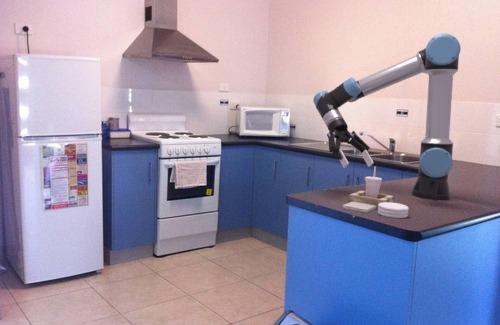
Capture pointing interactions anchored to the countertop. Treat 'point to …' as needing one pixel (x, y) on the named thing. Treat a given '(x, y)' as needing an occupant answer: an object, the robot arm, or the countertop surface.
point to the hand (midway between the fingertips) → (359, 165)
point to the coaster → (393, 210)
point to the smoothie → (373, 185)
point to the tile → (359, 207)
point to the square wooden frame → (361, 198)
